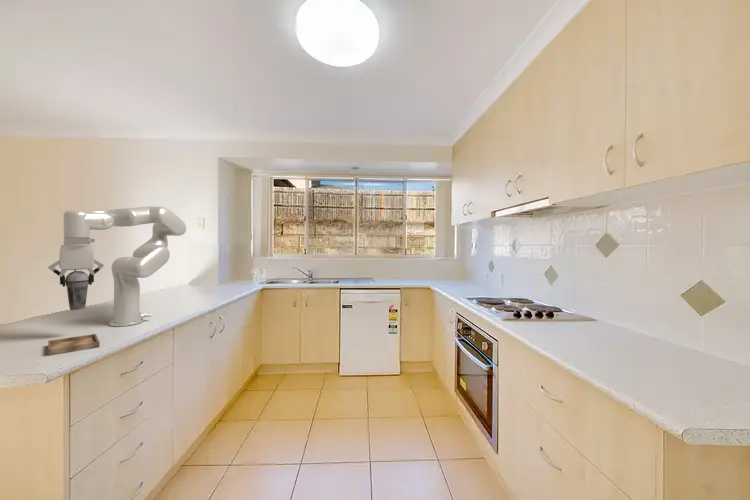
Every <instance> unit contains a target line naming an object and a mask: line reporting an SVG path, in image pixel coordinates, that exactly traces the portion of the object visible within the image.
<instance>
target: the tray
mask: <svg viewBox="0 0 750 500" xmlns="http://www.w3.org/2000/svg"><path fill="white" fill-rule="evenodd" d="M47 347H48V349H47V350H48V355H47V356H54V355H60V354H67V353H72V352H79V351H86V350H90V349H91V350H92V349H95V348H96V349H97V348H100V340H99V338H98V336H97V333H94V334H85V335H77V336H72V337H65V338H64V337H63V338H58V339H57V338H56V339H51V340H48V346H47Z"/></svg>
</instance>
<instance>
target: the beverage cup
mask: <svg viewBox="0 0 750 500" xmlns="http://www.w3.org/2000/svg"><path fill="white" fill-rule="evenodd" d="M88 286H89V274H87V273H86V272H84V271H82V270H73V271H72V272H69V273H68V274H67V275H66V276H65V287H66V292H67V299H68V307H69V310H70V311H79V310H84V309H86V305H87V296H88V290H89V287H88Z"/></svg>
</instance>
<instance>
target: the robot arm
mask: <svg viewBox="0 0 750 500" xmlns="http://www.w3.org/2000/svg"><path fill="white" fill-rule="evenodd" d="M149 224H153V225H152V237H151V238H150V239H149V240H147V241H145V242H144V243H143V244H141V245H139V246H138V247H137V248H136V249H134V251H133V253H132V256H122V257H117V258H116V259H115V260H113V262H112V263H111V274H112V278H113V320H111V321H109V322H108V325H109V326H111V327H127V326H134V325H139V324H141V323H143V322H144V318H152V313H151V312H148V313H147V312H143V313H141V312H140V296H141V295H140V292H141V291H140V290H141V287H140V286H141V284H140V282H139V279H145V278H149V277H150V276H151V275H153V274H154V273H156V272H157V271H158V270H160V269H161V268H162V267H163V266H165V264H167V262H169V259H170V256H171V253H170V250H169V248H168V246H169V244H168V243H169V242H168V237H169V236H171V237H172V236H173V237H180V236H183V235H185V233H186V232H187V225H186V223H185V222H184V221H183V219H181V218H180V217H179V216H178V215H176V214H175V213H174V212H173V211H172V210H170V209H169V208H167V207H166V206H140V207H127V208H114V209H105V210H104V209H102V210H89V211H79V210H66V211H64V212H63V244H61V245H60V250H59V253H58V254H59V257H58V260H57V261H55V262H54V263H52V264H51V265H49V266H48V267H47V268H48V269H49V270H50V271H51V272H52V273H54V274H56V275H57V276H59V285H62V288H63V287H66V283H65V280H66V276H65V274H66V272H67V271H74V270H76V271H82V270H87V272H89V273H88V277H89V284H88V286H89V285H90V286H91V285H93V283H95V275H96V274H97V273H98V272H99V271H100V270H102V268H104V267H105V265H104V263H101V262H99V261H98V260H96V259H95V254H94V248H93V245H92V244H91V243H95V239H94V238H91V236H90V233H91V232H90V230H92V231H93V230H98V231H105V230H109V229H111V228H112V227H124V228H125V227H134V226H140V225H149ZM95 265H97V267H96V268H95V269H94V267H95ZM56 267H59V269H60V271H59V270H58V269H56ZM93 269H94V270H93Z"/></svg>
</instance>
